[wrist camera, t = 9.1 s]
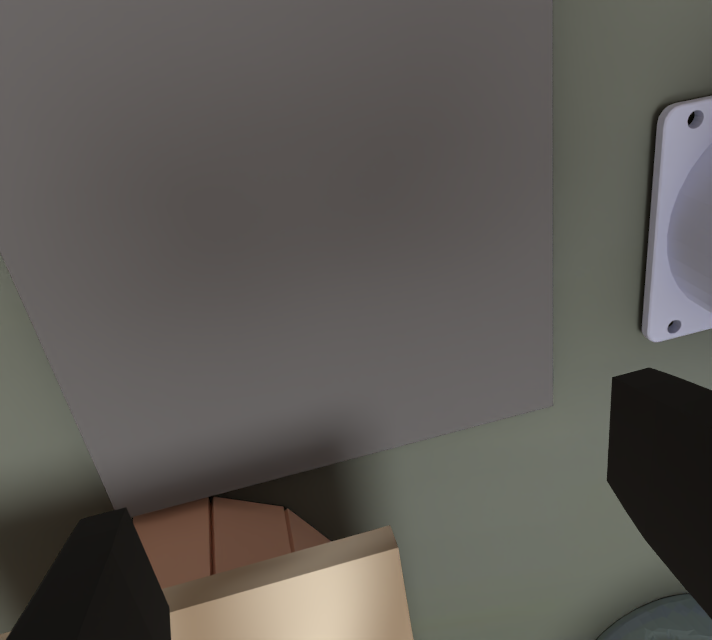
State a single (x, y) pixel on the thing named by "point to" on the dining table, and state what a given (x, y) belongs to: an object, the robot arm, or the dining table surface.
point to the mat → (278, 226)
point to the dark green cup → (663, 622)
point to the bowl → (219, 537)
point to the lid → (300, 596)
